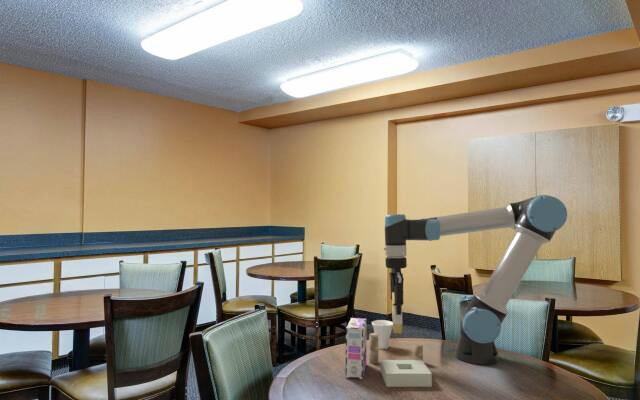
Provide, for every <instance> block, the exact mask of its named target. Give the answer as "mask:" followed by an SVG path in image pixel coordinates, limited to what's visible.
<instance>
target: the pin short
mask: <svg viewBox="0 0 640 400" xmlns="http://www.w3.org/2000/svg"><path fill="white" fill-rule="evenodd" d="M423 354H424V346H423V345H422V344H419V343H418V344H413V360H422V361H423V362H424V358H423V357H424V355H423Z"/></svg>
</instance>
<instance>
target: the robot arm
mask: <svg viewBox="0 0 640 400" xmlns="http://www.w3.org/2000/svg"><path fill="white" fill-rule="evenodd" d="M567 219H568V210H567V208H566V206H565V203H563V201H562V200H560V199H559V198H557V197H555V196H553V195H547V194H541V195H537V196H531V197H530V198H528V199H527V198H526V199H523V200H520V201H517V202H511V203H508V204H507V205H506V206H502V207H496V208H489V209H484V210H483V209H482V210H476V211H475V210H474V211H469V212H461V213H456V214H448V215H441V216H436V217H428V218H420V219H407V217H406V214H402V213H401V214H397V213H396V214H386V215H385V218H384V244H385V247H383V250H384V251H385V256H386V257H385V267H386V268H387V269H391V272H389V279H390V280H389V281H390V282H389V283H390V300H392V293H393V292H394V297H395V304H393V306H394V323H395V324H402V325H403V305H404V279H405V278H404V273H402V269H406V268H407V266H408V264H407V263H408V262H407V257H406V256H408V255H407V241H430V242H431V241H439V240H440V239H441V237H446V236H452V235H453V236H454V235H460V234H461V235H462V234H467V233H468V234H469V233H475V232H483V231H490V230H497V229H498V230H499V229H507V228H510V229H512V230H516V231H515V234H514V236H513V237H512V239H511V241H510V243H509V244H508V246H507V248H506V250H505V251H504V253H503V254H502V256H501V258H500V260H499V261H498V263H497V264H496V266H495V268H494V270H493V272H492V273H491V275H490V277H489V279H488V280H487V282H486V284H485V286H484V287H483V289H482V291H481V292H478V293H475V294H462V295H460V296H459V302H458V304H459V337H458V339H457V342H456V346H455V349H454V354H455V355H454V356H455V358H456V359H458V360H460V361H462V362H465V363H469V364H473V365H485V366H487V365H494V364H496V363H497V364H498V362H499V360H500V359H499V351H498V349H497V347H496V344H495V341H496V340H497V339H498V338H499V336H500V334H501V331H502V324H503V322H504V320H505V319H506V317H507V315H508V314H509V313H508V310H507V305H508V303H509V301H510V300H511V298H512V297H513V294H514V293H515V291H516V290H517V288H518V287H519V284H520V282H521V281H522V280H523V277H524V275H525V274H526V273H527V271H528V270H529V268H530V266H531V264H532V263H533V261H534V258H536V255H537V254H538V253H539V250H540V248H541V247H542V246H543V245H544V244H547V243H550V242H551V241H552V238H553V236H554V235H555V233H556V232H557V231H559V230H560V229H562V228H563V226H564V225H565V224H566V222H567ZM391 309H392V311H391V313H392V315H391V318H392V321H391V322H393V308H392V307H391Z"/></svg>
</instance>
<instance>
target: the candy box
mask: <svg viewBox="0 0 640 400" xmlns="http://www.w3.org/2000/svg"><path fill="white" fill-rule="evenodd" d="M366 367H367V318H360V317H357V318H356V317H350V320H349V322H348V324H347V325H346V327H345V378H346V379H347V378H348V379H358V380H364V379H363V378H364V375H365V372H366V369H367V368H366Z"/></svg>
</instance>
